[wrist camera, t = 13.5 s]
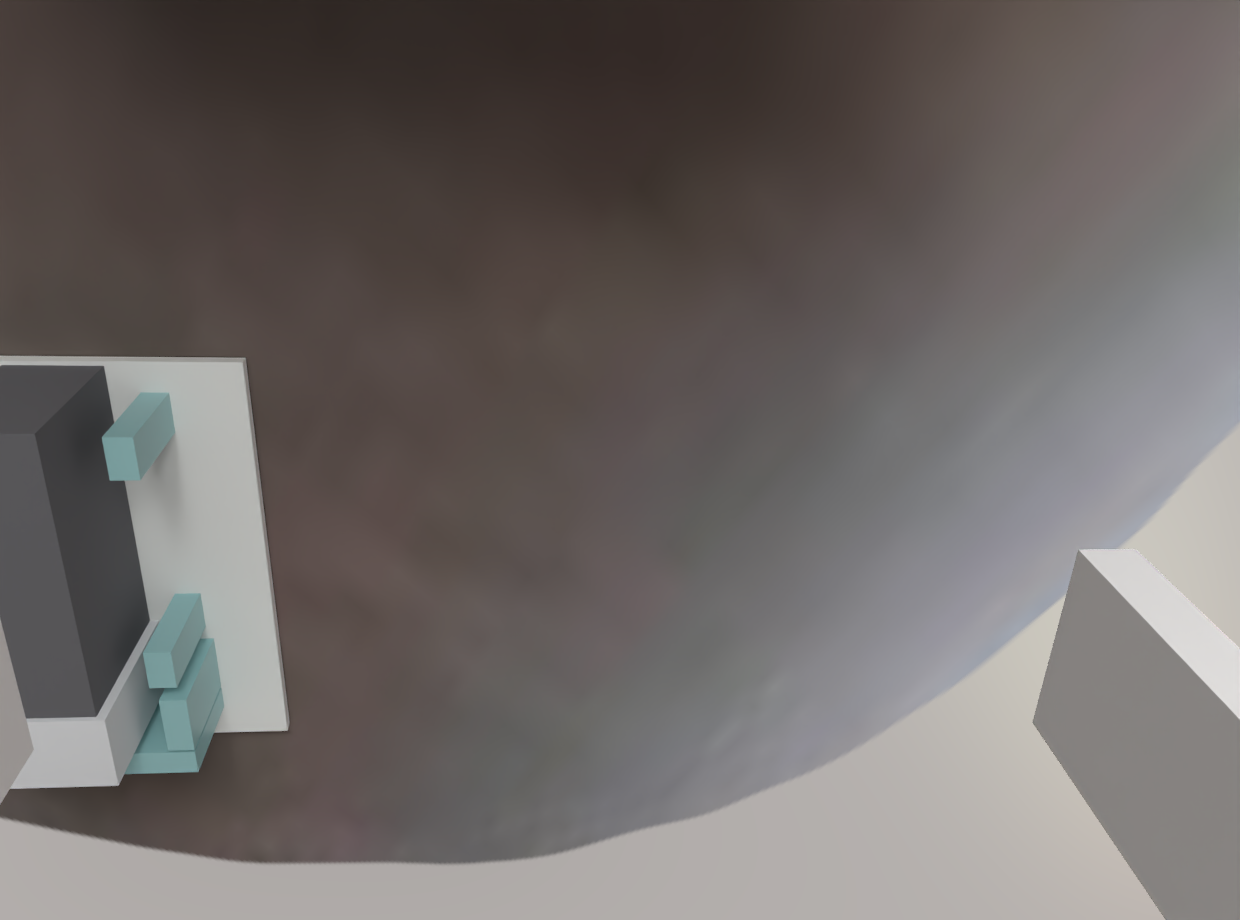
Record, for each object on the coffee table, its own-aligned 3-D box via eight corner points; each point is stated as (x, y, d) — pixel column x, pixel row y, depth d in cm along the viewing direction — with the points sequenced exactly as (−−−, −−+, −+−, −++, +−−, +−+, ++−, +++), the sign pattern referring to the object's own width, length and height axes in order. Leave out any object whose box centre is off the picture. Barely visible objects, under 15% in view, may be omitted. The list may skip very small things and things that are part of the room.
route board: (-130, 354, 37) (-208, 402, 33) (245, 357, 38) (213, 404, 34) (-23, 731, 44) (-77, 808, 40) (289, 723, 46) (267, 797, 42)
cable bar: (-9, 364, 37) (-101, 436, 32) (113, 365, 38) (44, 436, 32) (64, 682, 43) (-3, 789, 38) (169, 680, 44) (118, 785, 38)
